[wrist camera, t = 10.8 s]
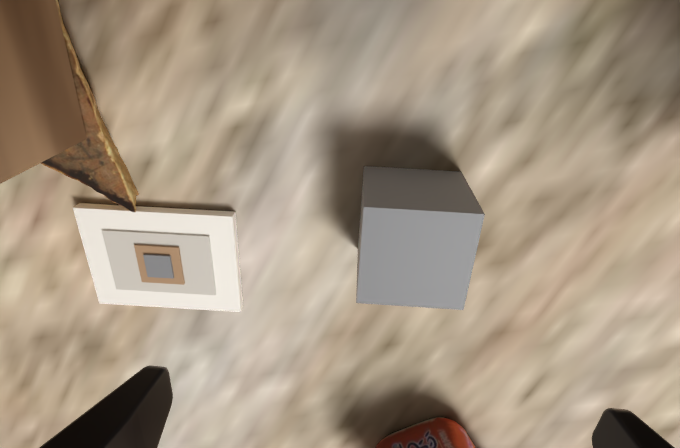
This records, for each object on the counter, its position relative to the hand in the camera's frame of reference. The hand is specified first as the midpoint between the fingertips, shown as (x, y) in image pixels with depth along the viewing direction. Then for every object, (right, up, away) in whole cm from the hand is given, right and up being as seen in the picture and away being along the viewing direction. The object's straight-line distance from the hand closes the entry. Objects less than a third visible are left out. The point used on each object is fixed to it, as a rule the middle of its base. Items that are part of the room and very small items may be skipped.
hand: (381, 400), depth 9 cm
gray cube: (+2, +4, +10) cm, 11 cm away
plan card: (-9, +2, +11) cm, 15 cm away
